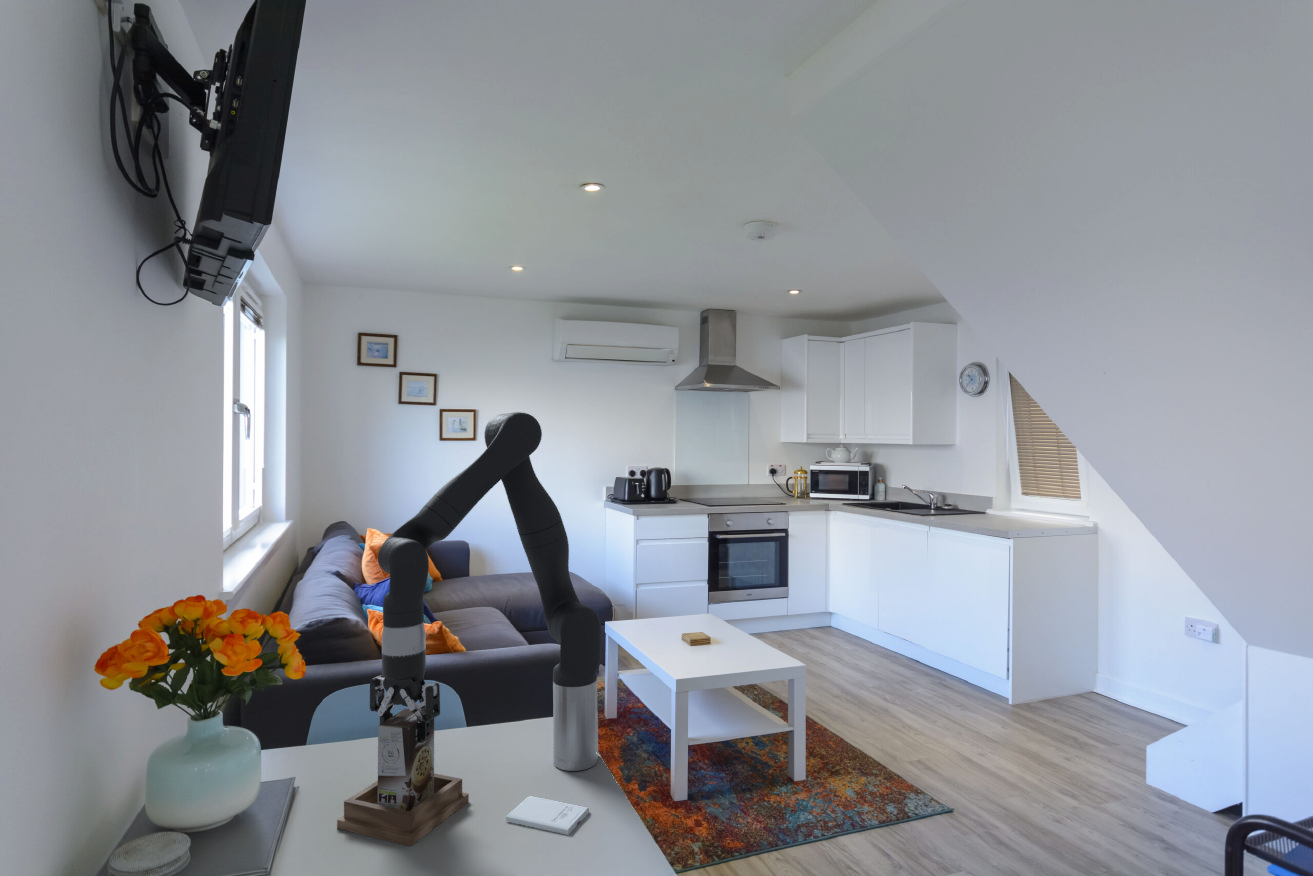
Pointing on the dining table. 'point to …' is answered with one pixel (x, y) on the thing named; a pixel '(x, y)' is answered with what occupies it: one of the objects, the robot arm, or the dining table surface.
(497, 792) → the dining table surface
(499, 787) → the dining table surface
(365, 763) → the dining table surface
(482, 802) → the dining table surface
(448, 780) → the wooden tray
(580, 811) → the external hard drive
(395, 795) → the coffee box
